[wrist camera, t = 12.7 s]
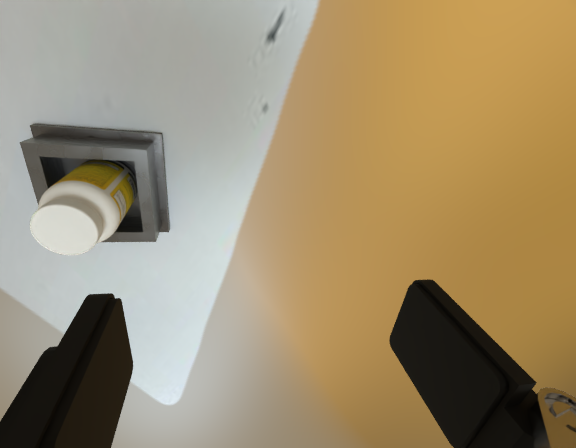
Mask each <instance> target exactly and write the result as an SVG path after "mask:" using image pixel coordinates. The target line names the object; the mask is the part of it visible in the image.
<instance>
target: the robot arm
mask: <svg viewBox="0 0 576 448" xmlns="http://www.w3.org/2000/svg"><path fill="white" fill-rule="evenodd" d="M390 345H391V348H392V350H393V351H394V353H395V354H396V356H397V358H398V359H399V361H400V363H401V364H402V366H403V368H404V369H405V371H406V373H407V374H408V376H409V377H410V379H411V381H412V382H413V384H414V386H415V387H416V389H417V390H418V392H419V394H420V395H421V397H422V399H423V400H424V402H425V404H426V405H427V407H428V408H429V410H430V412H431V413H432V415H433V417H434V418H435V420H436V421H437V423H438V425H439V426H440V428H441V430H442V431H443V433H444V435H445V436H446V438H447V439H448V441H449V443H450V444H451V445H452V446H453V447H454V448H576V398H575V397H573V396H571V395H569V394H567V393H566V392H564V391H560V390H558V389H555V388H543V389H540V390H539V392H538V393H537V394H536V393H535V392H534V391H533V390H532V388H533V387H534V385H535V384H536V382H535V381H534V380H533V379H532V378H531V377H530V376H529V375H528V374H527V373H526V372H525V371H524V370H523V369H522V368H521V367H520V366H519V365H518V364H517V363H516V362H515V361H514V360H513V359H512V358H511V357H510V356H509V355H508V354H507V353H506V352H505V351H504V350H503V349H502V348H501V347H500V346H499V345H498V344H497V343H496V342H495V341H494V340H493V339H492V338H491V337H490V336H489V335H488V334H487V333H486V332H485V331H484V330H483V329H482V328H481V327H480V326H479V325H478V324H477V323H476V322H475V321H474V320H473V319H472V318H471V317H470V316H469V315H468V314H467V313H466V312H465V311H464V310H463V309H462V308H461V307H460V306H459V305H457V303H456V302H455V301H454V300H453V299H452V298H451V297H450V296H449V295H448V294H447V293H446V292H445V291H444V290H443V289H442V288H441V287H440V286H439V285H438V284H437V283H436V282H435V281H433V280H415V281H414V282H413V283H412V285H410V286H409V288H408V291H407V293H406V296H405V298H404V301H403V304H402V306H401V309H400V312H399V314H398V317H397V320H396V322H395V325H394V327H393V330H392V333H391V335H390ZM132 370H133V360H132V354H131V349H130V344H129V338H128V333H127V327H126V322H125V317H124V311H123V306H122V301H121V299H120V298H116V299H115V297H114V295H113V294H90V295H88V296H87V297H86V298H85V300H84V302H83V303H82V305H81V307H80V309H79V310H78V312H77V314H76V316H75V317H74V319H73V321H72V322H71V324H70V326H69V328H68V329H67V331H66V333H65V334H64V336H63V338H62V340H61V342H60V343H59V345H58V346H57V347H50V348H48V349H47V350H46V351H44V353H43V354H42V355H41V357H40V358H39V360H38V362H37V363H36V365H35V366H34V368H33V370H32V371H31V373H30V374H29V376H28V378H27V379H26V381H25V382H24V384H23V386H22V387H21V389H20V391H19V392H18V394H17V396H16V397H15V399H14V400H13V402H12V403H11V405H10V407H9V408H8V410H7V412H6V413H5V415H4V416H3V418H2V420H1V421H0V448H111V445H112V442H113V438H114V435H115V431H116V428H117V424H118V421H119V417H120V414H121V410H122V407H123V403H124V400H125V396H126V393H127V389H128V386H129V382H130V379H131V375H132Z"/></svg>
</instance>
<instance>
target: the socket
mask: <svg viewBox="0 0 576 448" xmlns="http://www.w3.org/2000/svg"><path fill="white" fill-rule="evenodd" d="M30 127H31V131H32V134H33V138H30V139H28V140H25V141H22V142H20V145H21V148H22V151H23V155H24V158H25V161H26V165H27V168H28V172H29V175H30V178H31V182H32V185H33V188H34V192H35V195H36V199H37V202H38V205H39V201H40V199H41V197H42V195H43V194H44V192H45V191H46V190H47V189H48V188H50V187H51V186H52V185H54V184H55V183H56V182H58V181H59V180H61V179H62V178H63V177H65V176H66V175H67V174H69V173H70V172H71V171H73V170H74V169H75V168H77V167H78V166H80V165H81V164H82V163H84V162H86V161H88V160H91V159H97V160H116V161H118V162H120V163H122V164H123V165H125V166H126V167H127V168H128V169H129V170H130V171H131V172H132V173H133V175H134V176H135V178H136V181H137V186H138V192H137V196H136V198H135V200H134V202H133V203H132V205H131V207H130V208H129V210H128V212H127V213H126V215H125V216H124V218H123V220H122V221H121V223H120V224H119V226H118V228H117V229H116V231H115V232H114V233H113V234H112V235H111V236H110V237H109V238H108V239H106V240H104V241H102V242H156V240H157V237H158V235H159V232H169V230H170V225H169V213H168V200H167V187H166V174H165V162H164V149H163V136H162V133H152V132H138V131H124V130H111V129H97V128H83V127H70V126H56V125H42V124H33V125H30Z"/></svg>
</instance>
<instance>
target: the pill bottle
mask: <svg viewBox="0 0 576 448" xmlns="http://www.w3.org/2000/svg"><path fill="white" fill-rule="evenodd" d="M137 192H138V186H137V181H136V178H135V176H134V175H133V173H132V172H131V171H130V170H129V169H128V168H127V167H126V166H125V165H123V164H122V163H120V162H118V161H116V160H97V159H91V160H88V161H86V162H84V163H82V164H81V165H80V166H78V167H77V168H75V169H74V170H73V171H71V172H70V173H69V174H67V175H66V176H65V177H63V178H62V179H61V180H59V181H58V182H56V183H55V184H54V185H52V186H51V187H50V188H48V189H47V190H46V191H45V192H44V194H43V195H42V197H41V199H40V201H39V206H38V210H37V211H36V212H35V213H34V214H33V216H32V218H31V220H30V229H31V233H32V235H33V237H34V238H35V239H36V241H37V242H38V243H39V244H41V245H42V246H43V247H45V248H46V249H48V250H50V251H52V252H55V253H58V254H62V255H79V254H82V253H85V252H87V251H89V250H90V249H92V248H93V247H94V246H95V244H96V243H99V242H102V241H104V240H106V239H108V238H109V237H110V236H111V235H112V234H113V233H114V232H115V231H116V229H117V228H118V226H119V224H120V223H121V221H122V220H123V218H124V216H125V215H126V213H127V212H128V210H129V208H130V207H131V205H132V203H133V202H134V200H135V198H136V196H137Z"/></svg>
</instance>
